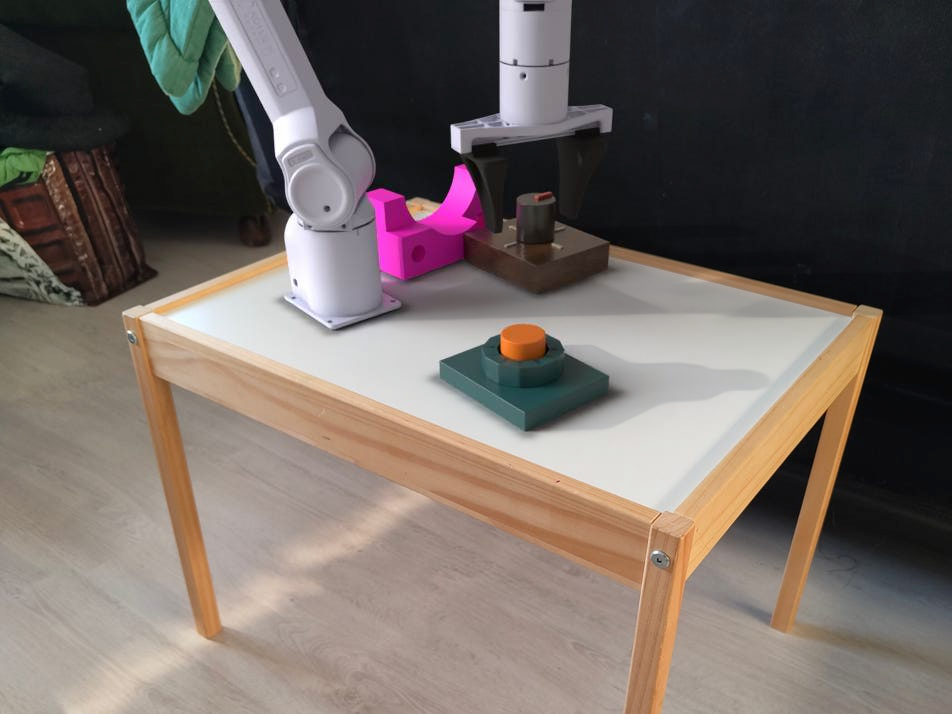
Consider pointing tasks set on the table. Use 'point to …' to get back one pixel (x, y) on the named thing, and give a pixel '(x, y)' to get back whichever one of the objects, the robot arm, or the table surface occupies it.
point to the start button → (523, 342)
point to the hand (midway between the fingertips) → (531, 222)
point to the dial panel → (537, 256)
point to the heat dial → (535, 218)
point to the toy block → (425, 228)
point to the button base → (524, 382)
